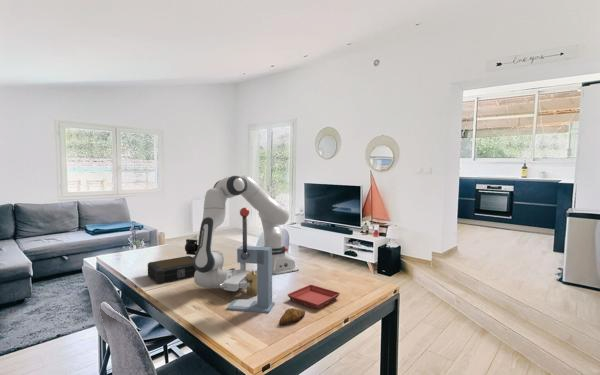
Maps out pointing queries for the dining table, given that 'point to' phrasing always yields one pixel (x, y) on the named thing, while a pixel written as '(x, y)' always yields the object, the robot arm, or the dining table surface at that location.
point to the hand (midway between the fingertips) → (253, 281)
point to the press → (264, 280)
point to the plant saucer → (313, 296)
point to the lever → (244, 232)
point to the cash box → (171, 269)
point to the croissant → (291, 316)
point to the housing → (252, 283)
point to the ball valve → (192, 245)
